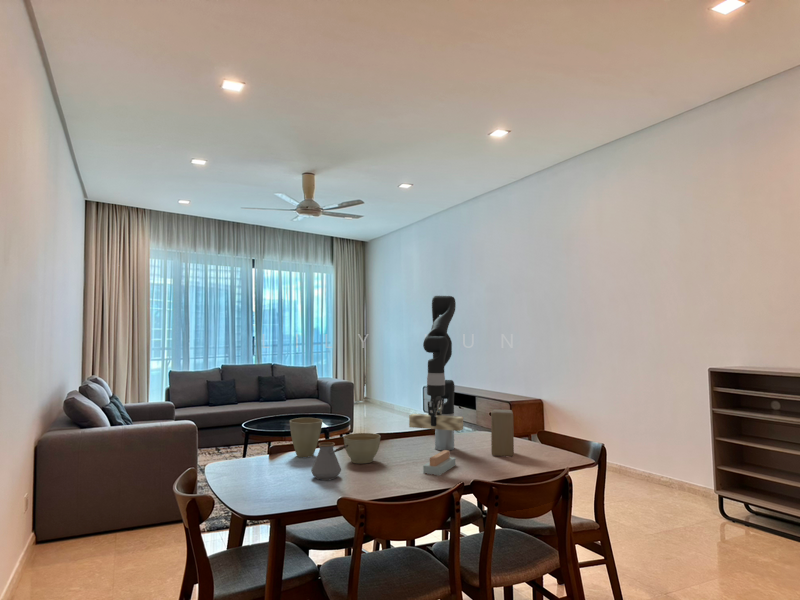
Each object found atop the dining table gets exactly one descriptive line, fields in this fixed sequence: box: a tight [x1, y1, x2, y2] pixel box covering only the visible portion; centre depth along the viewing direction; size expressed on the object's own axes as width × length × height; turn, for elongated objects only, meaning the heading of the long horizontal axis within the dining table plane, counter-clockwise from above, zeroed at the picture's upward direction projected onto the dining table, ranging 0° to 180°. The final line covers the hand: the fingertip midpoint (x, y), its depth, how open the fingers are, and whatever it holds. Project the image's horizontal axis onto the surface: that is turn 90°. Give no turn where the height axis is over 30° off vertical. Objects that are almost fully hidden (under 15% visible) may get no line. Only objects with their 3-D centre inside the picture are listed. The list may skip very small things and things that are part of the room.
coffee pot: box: [311, 441, 351, 481], centre depth 192 cm, size 21×12×15 cm, turn 38°
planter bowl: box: [343, 432, 381, 465], centre depth 221 cm, size 16×16×11 cm
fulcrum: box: [422, 450, 456, 476], centre depth 209 cm, size 18×7×6 cm, turn 154°
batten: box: [408, 413, 464, 432], centre depth 211 cm, size 22×5×5 cm, turn 67°
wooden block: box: [490, 408, 515, 458], centre depth 236 cm, size 10×10×20 cm
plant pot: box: [289, 417, 324, 458], centre depth 231 cm, size 15×15×16 cm
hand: (435, 424), depth 211 cm, fingers closed on batten, 5 cm apart
